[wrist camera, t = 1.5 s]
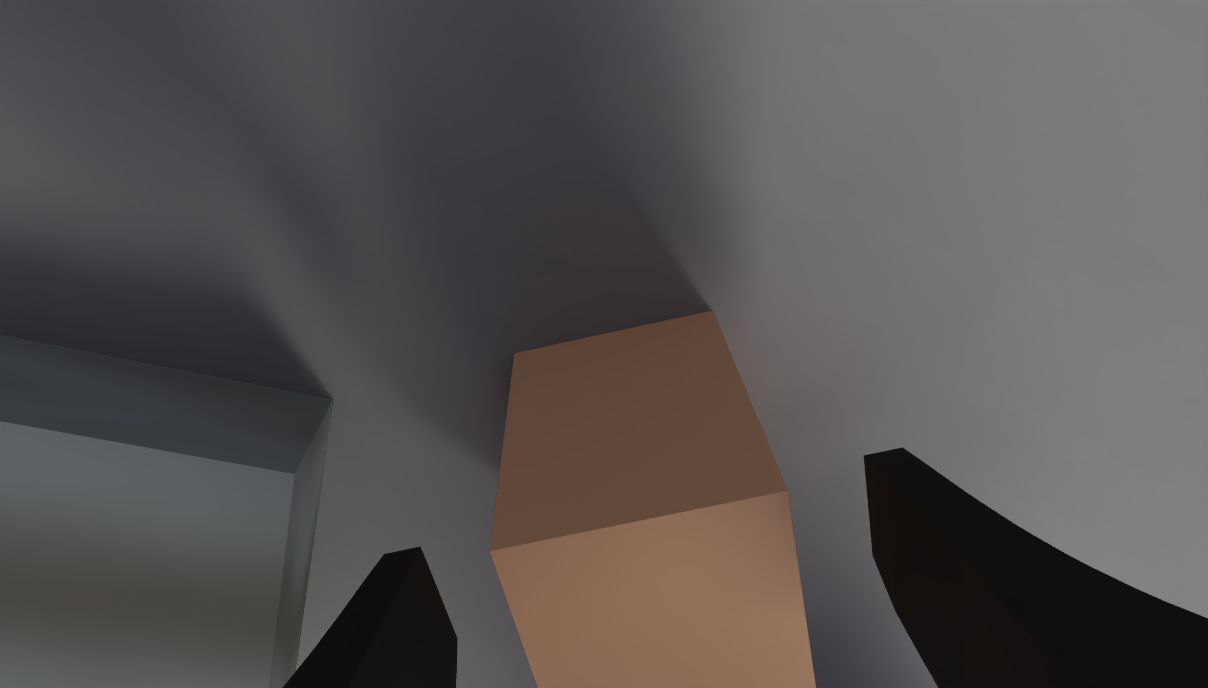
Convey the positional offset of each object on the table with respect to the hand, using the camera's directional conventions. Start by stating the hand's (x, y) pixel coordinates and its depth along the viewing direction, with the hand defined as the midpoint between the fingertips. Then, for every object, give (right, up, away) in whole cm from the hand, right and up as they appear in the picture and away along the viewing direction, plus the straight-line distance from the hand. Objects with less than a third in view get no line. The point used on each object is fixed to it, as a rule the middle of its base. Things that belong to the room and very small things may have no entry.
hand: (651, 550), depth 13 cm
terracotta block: (0, +2, +4) cm, 4 cm away
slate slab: (-11, 0, +5) cm, 12 cm away
